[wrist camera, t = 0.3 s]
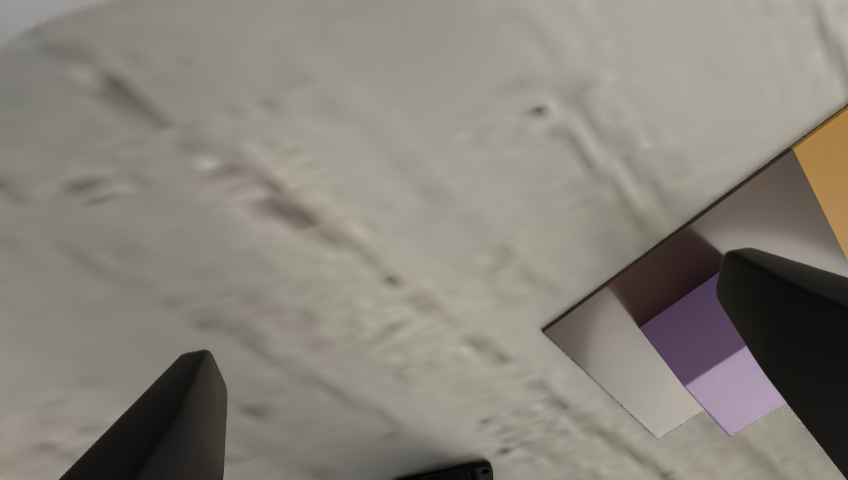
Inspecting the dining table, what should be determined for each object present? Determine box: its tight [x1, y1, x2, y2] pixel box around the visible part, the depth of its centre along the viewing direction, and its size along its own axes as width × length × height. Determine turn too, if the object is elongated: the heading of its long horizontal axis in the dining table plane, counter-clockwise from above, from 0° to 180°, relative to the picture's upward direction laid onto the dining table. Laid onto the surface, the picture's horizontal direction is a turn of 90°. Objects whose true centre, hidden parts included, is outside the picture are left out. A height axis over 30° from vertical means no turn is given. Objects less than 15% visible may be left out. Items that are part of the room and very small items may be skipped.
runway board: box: [542, 148, 848, 439], centre depth 31 cm, size 15×14×1 cm
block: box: [640, 272, 786, 436], centre depth 29 cm, size 6×6×4 cm
